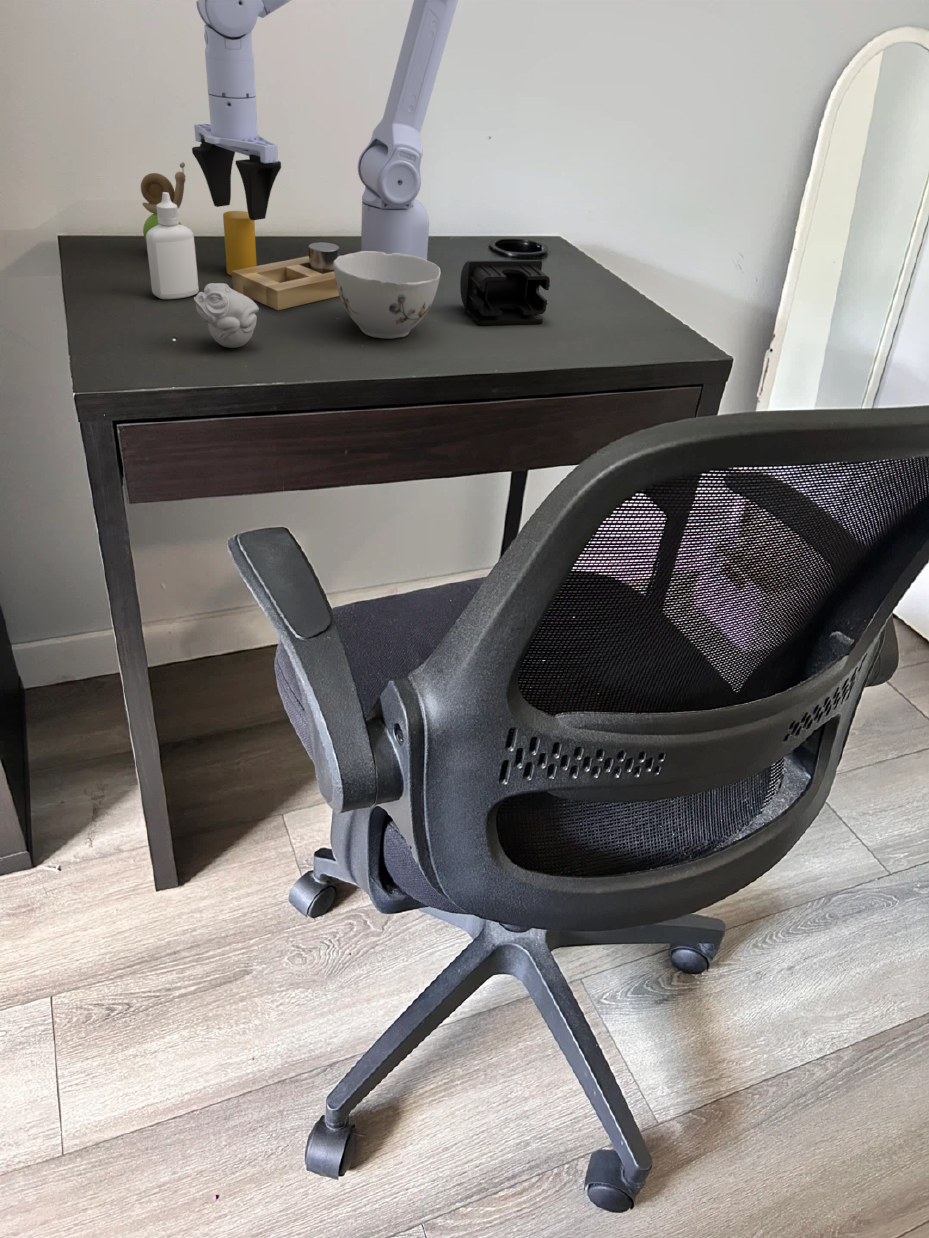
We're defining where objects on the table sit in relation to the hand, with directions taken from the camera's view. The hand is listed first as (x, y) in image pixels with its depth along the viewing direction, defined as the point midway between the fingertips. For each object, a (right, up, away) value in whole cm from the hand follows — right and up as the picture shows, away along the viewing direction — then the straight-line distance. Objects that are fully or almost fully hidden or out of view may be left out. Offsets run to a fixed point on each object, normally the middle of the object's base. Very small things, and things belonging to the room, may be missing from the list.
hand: (239, 212), depth 121 cm
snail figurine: (-12, -2, +9) cm, 15 cm away
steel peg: (+11, -8, +3) cm, 14 cm away
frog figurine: (+3, -23, -17) cm, 28 cm away
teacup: (+19, -18, -8) cm, 28 cm away
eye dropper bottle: (-7, -13, -5) cm, 15 cm away
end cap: (+35, -14, 0) cm, 37 cm away
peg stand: (+8, -10, +1) cm, 13 cm away
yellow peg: (-1, -6, +5) cm, 8 cm away
